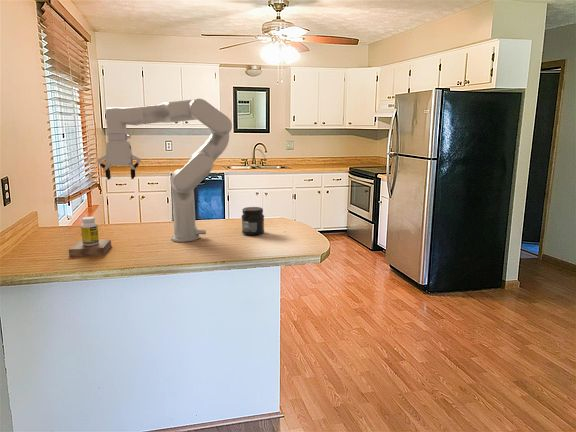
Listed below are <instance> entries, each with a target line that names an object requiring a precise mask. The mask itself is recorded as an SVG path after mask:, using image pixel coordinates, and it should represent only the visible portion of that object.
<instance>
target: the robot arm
mask: <svg viewBox="0 0 576 432" xmlns="http://www.w3.org/2000/svg"><path fill="white" fill-rule="evenodd" d="M105 120H106V131H107V133H106V134H107V141H106V143H105V155H103V156H101V157H100V158H98V159H97V162H98V164H99V165H100V167H101V168H102V169H103V170H104V171H105V178H106V179H107V181H109V180H111V179H112V177H111V170H110V168H111V166H128V167H129V168H130V179H131V180H134V179H135V177H136V168H138V166H139V165H140V164H141V161H142V158H141V157H138V156H136V155H133V151H132V146H131V143H130V140H128V139H131V137H132V136H131V135H130V134H128V132H127V131H128V130H127V125H129V126H130V125H131V126H140V125H141V126H142V125H148V124H159V123H161V124H163V123H165V124H168V123H169V124H170V123H178V122H187V121H196V120H198V121H199V122H200V123H201V124H203V125H204V126H205V127H206V128H208V129H209V130H210V135H209V138H207V140H206V141H205V142H204V144H202V145H201V146H200V147H199V148H198V149H197V150H196V151H195V152H194V153H193V154H192V155H190V157H189V160H188V162H187V163H186V164H185V165H184V166H183V167H182V168H177V169H176V170H174V171H173V172H172V174H171V177H170V187H171V199H172V214H173V215H172V219H173V233H174V234H173V235H171V236H170V239H171V241H173V242H179V243H187V242H194V241H197V240H199V239H200V235H207V230H206V229H198V228H197V226H196V209H195V208H196V207H195V205H196V204H195V203H196V202H195V191H194V190H195V188H196V187H198V185H200V183H201V182H203V180H205V179H206V177H207V176H208V175H209V174H210V173H211V171H212V170H213V168H214V163H215V161H216V160H217V159H218V158H220V156H221V155H222V154H223V153H224V152H225V150H226V149H227V147H228V145H229V141H230V132H231V131H232V129H233V123H232V120H231V119H230V118H229V117H228V116H227V115H226V114H224V113H223V112H222V111H220V110H218V108H216V107H215V106H213V105H212V104H211V103H209V102H208V101H207V100H205V99H203V98H196V99H187V100H185V99H184V100H177V101H176V100H175V101H167V102H162V103H159V104H154V105H153V104H152V105H146V106H131V107H114V106H111V107H107V108H105ZM104 160H105V163H106V164H104V162H103V161H104ZM134 161H136V162H135V164H133V162H134Z"/></svg>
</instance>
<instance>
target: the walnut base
mask: <svg viewBox="0 0 576 432" xmlns="http://www.w3.org/2000/svg"><path fill="white" fill-rule="evenodd" d="M111 241H112V240H111V239H99V243H98V244H97V245H92V246H85V245H83V243H82V240H78V241H76V242H75V243H74V244H73V245H72V246H71V247H69V249H68V256H69V258H71V257H89V256H90V257H91V256H92V257H93V256H94V257H95V256H105V254H107V252H108V251H109V249H110V248H111V247H112V242H111Z"/></svg>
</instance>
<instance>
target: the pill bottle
mask: <svg viewBox="0 0 576 432" xmlns="http://www.w3.org/2000/svg"><path fill="white" fill-rule="evenodd" d="M81 219H82V220H81V221H82V223H81V225H80V231H81V241H82V243H83V245H85V246H92V245H97V244H98V243H99V240H100V239H99V227H98V223H97V222H96V219H95V216H85V217H81Z"/></svg>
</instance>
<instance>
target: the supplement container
mask: <svg viewBox="0 0 576 432" xmlns="http://www.w3.org/2000/svg"><path fill="white" fill-rule="evenodd" d="M241 212H242V215H241V232H242V234H243V235H244V236H247V237H257V236H261V235H263V234H264V233H265V214H263V213H264V209H263V207H259V206H249V207H248V206H247V207H244V208H242V211H241Z"/></svg>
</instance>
